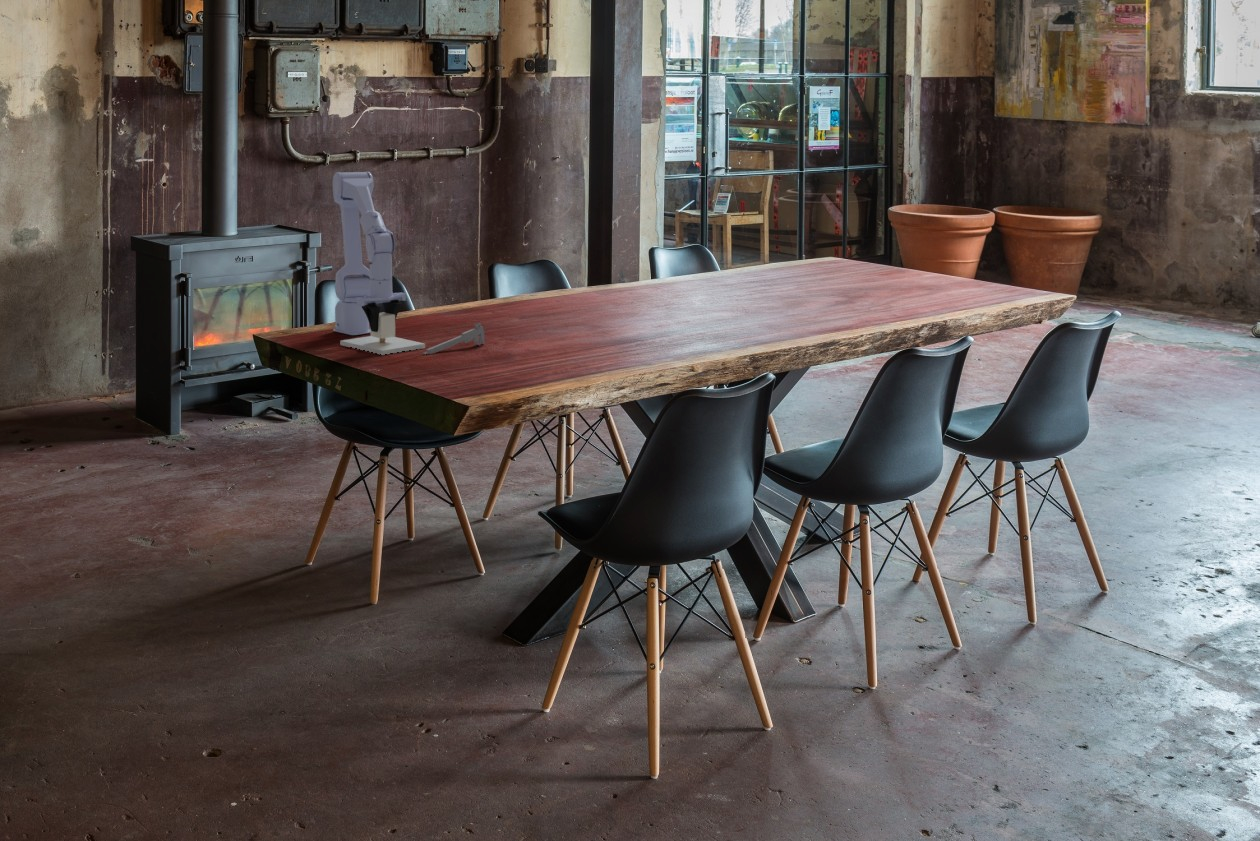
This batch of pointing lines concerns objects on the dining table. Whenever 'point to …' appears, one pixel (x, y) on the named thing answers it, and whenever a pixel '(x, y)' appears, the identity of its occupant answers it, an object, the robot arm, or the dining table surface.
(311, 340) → the dining table surface
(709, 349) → the dining table surface
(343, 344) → the light gray slab
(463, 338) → the caliper
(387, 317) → the cream rectangular prism
